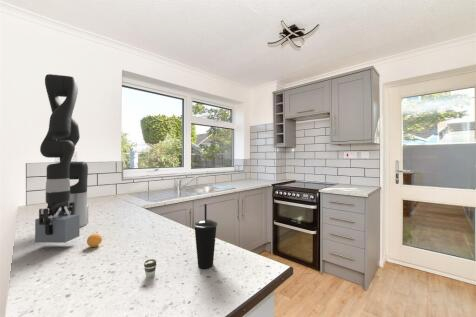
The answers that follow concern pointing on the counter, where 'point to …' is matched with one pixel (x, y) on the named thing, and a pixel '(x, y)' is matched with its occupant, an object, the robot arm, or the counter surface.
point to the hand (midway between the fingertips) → (58, 231)
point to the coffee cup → (150, 268)
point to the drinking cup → (205, 241)
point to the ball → (94, 240)
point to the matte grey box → (59, 229)
